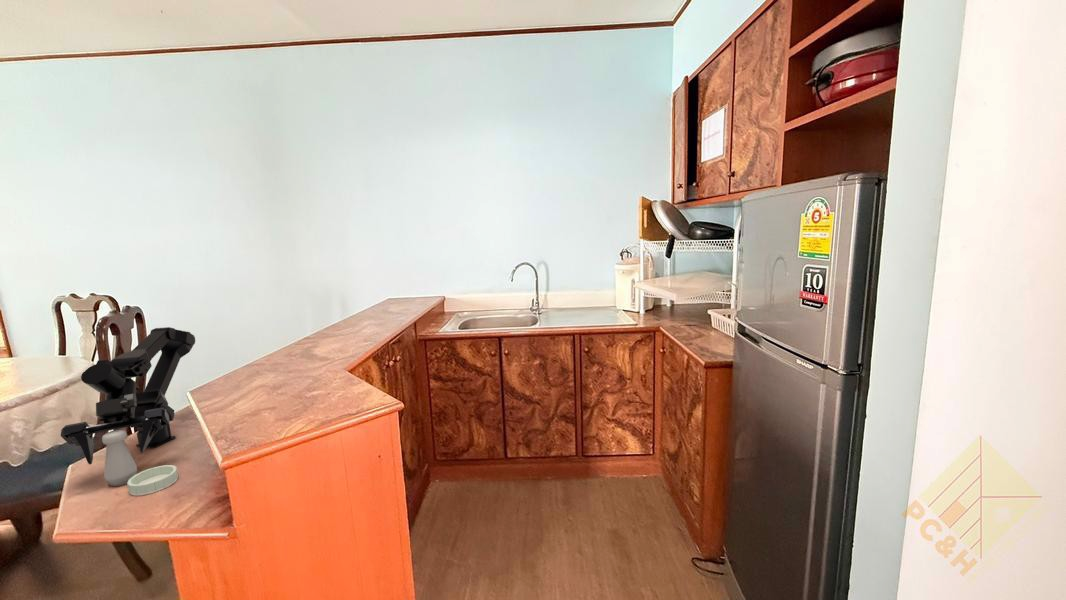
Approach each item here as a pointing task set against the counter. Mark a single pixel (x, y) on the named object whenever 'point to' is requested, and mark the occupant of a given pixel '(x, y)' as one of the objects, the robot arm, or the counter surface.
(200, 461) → the counter surface
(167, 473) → the pale green shallow dish
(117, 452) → the salt shaker
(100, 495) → the counter surface
